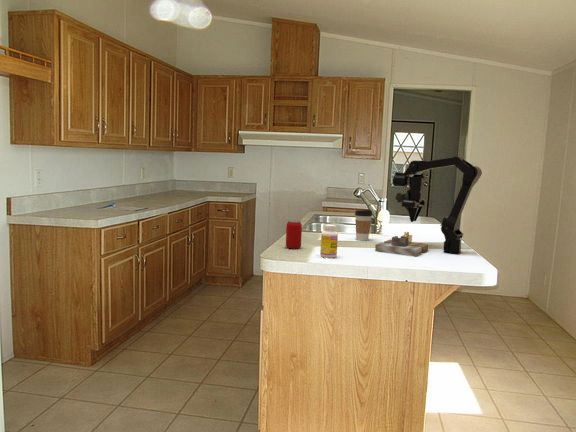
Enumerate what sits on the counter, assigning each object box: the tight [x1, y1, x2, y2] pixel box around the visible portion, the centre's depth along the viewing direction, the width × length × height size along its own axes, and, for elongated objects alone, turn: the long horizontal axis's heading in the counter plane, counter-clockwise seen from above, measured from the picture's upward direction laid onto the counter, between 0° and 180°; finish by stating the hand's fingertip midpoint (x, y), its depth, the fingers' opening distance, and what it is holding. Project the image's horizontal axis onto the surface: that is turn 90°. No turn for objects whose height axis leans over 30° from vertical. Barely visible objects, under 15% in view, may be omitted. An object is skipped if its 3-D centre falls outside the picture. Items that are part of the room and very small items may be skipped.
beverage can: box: [285, 219, 303, 250], centre depth 215 cm, size 7×7×12 cm
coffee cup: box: [354, 209, 373, 242], centre depth 244 cm, size 8×8×15 cm
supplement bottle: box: [319, 223, 339, 259], centre depth 198 cm, size 7×7×13 cm
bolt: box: [400, 231, 413, 243], centre depth 221 cm, size 3×7×5 cm, turn 148°
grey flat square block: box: [374, 235, 429, 257], centre depth 217 cm, size 18×18×6 cm
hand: (413, 221), depth 228 cm, fingers open, 4 cm apart
